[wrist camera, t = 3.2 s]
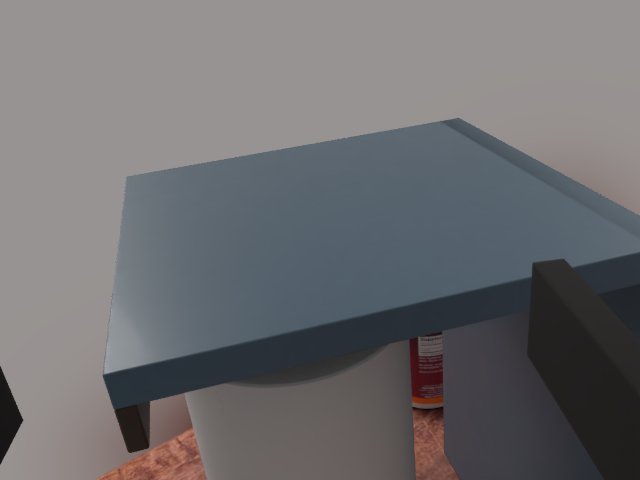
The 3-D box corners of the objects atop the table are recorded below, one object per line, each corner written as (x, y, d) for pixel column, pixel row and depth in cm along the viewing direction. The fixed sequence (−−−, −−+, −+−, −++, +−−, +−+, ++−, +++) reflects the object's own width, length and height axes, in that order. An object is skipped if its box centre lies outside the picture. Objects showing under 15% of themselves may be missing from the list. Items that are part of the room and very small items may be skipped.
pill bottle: (379, 370, 52) (370, 257, 47) (447, 355, 53) (446, 243, 48) (401, 419, 47) (394, 298, 42) (477, 403, 47) (479, 281, 43)
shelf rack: (247, 813, 27) (102, 375, 16) (215, 515, 41) (126, 176, 30) (604, 683, 30) (687, 240, 19) (459, 448, 44) (459, 117, 33)
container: (369, 501, 40) (344, 230, 31) (458, 641, 32) (456, 326, 23) (225, 565, 37) (150, 286, 28) (280, 739, 29) (199, 419, 20)
